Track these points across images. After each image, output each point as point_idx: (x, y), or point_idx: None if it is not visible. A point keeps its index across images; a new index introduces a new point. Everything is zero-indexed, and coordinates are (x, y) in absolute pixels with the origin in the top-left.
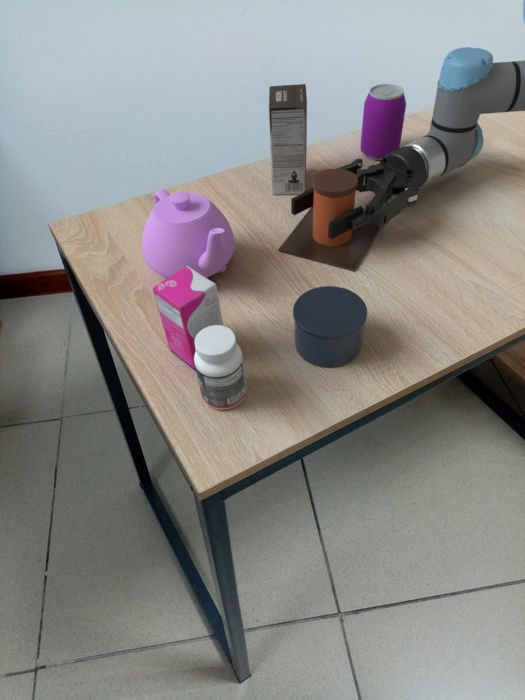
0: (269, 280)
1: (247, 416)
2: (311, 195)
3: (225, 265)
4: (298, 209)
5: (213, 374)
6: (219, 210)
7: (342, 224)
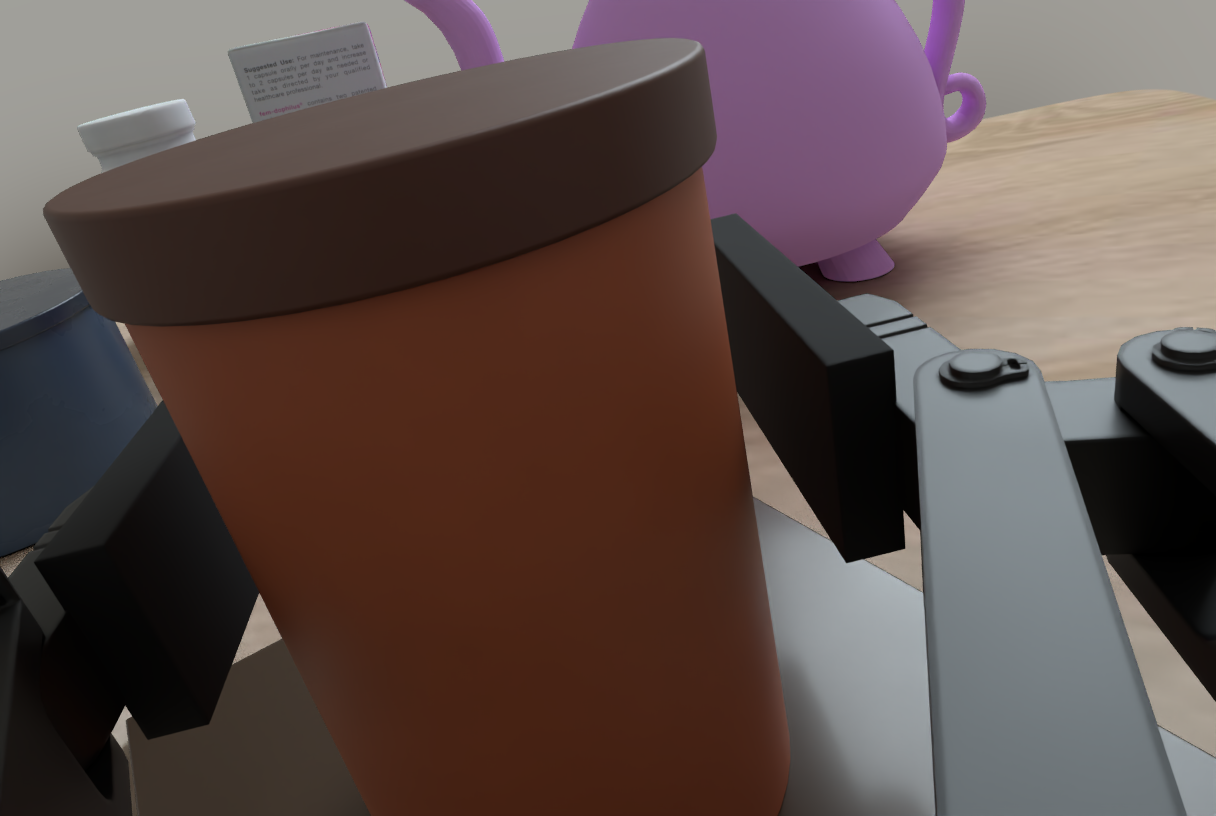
0: None
1: (129, 339)
2: (754, 321)
3: None
4: None
5: None
6: (715, 45)
7: None
